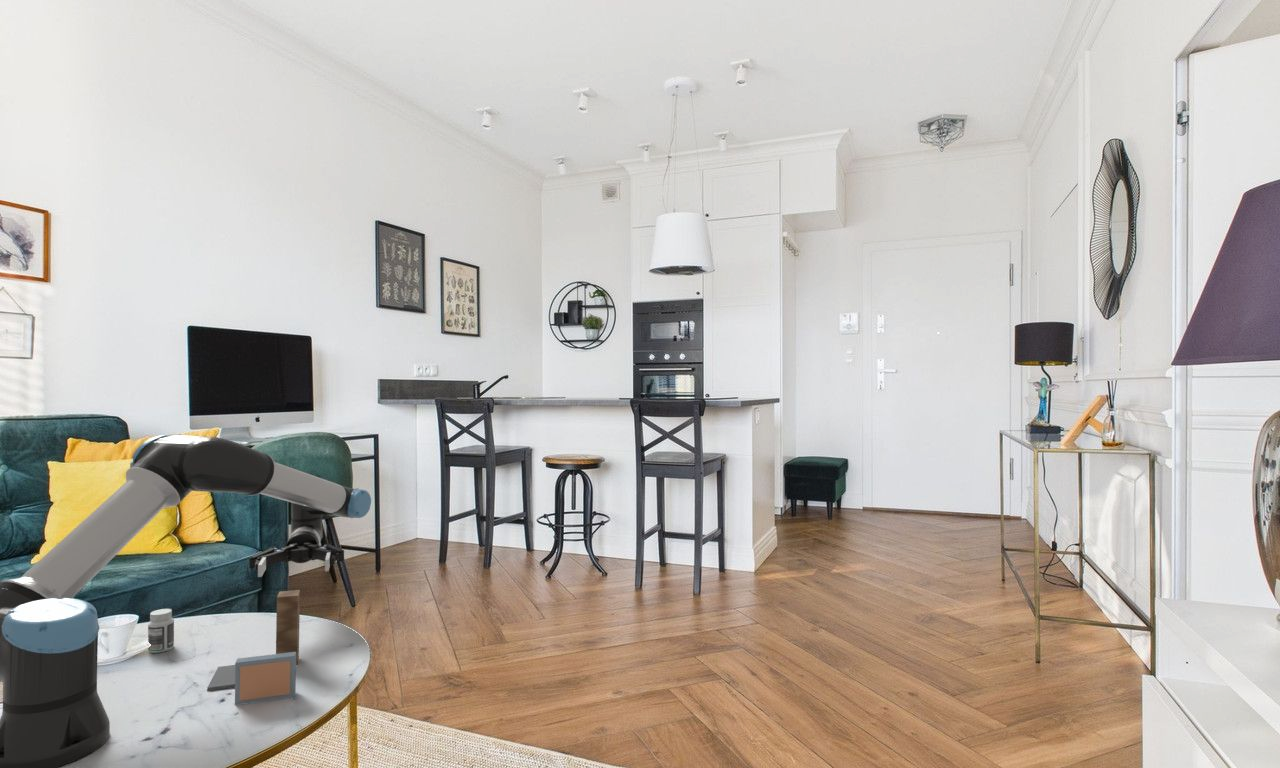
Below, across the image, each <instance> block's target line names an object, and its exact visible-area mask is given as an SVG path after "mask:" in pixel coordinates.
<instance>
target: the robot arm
mask: <svg viewBox="0 0 1280 768" xmlns="http://www.w3.org/2000/svg"><path fill="white" fill-rule="evenodd" d="M131 458H132V461H130V463H129V468H128V469H126V471H125V480H126V481H125V483H124V484H122V485H121V486H120V487H119V488H118V489H116V490H115V492H113V493H112V494H111V495H110V496H109V497H108V498H106V500H105V501H103V503H101V504H100V505H99V506H98V507H97V508H96V509H95V510H94V511H93V512H91V513H90V514H88V515H87V517H86V518H84V520H82V521H81V522H80V523H79V524H78V525H77V526H76V527H75V528H73V529H72V530H71V531H70V532H69V533H68V534H67V535H66V536H65V537H63V539H61V540H60V541H59V542H58V543H57V544H56V545H55V546H54V547H52V548H51V549H50V550H49V551H48V552H47V553H46V554H44V556H42V558H40V559H39V560H38V561H37V562H35V563H34V565H33V566H31V567H30V568H29V569H28V570H27V571H25V573H23V575H22V576H20V577H18V578H12V579H5V580H2V581H1V582H0V683H2V713H1V716H0V768H58V767H62V766H64V765H67V764H70V763H72V762H75V761H77V760H80V759H81V758H83V757H86V756H88V755H90V754H91V753H93V752H95V751H96V750H98V749H99V748H101V746H103V745H104V744H105V743H106V742H107V740H108V739H109V737H110V729H111V728H110V727H111V726H110V724H111V722H110V719H109V716H108V714H107V711H106V710H105V707H104V704H103V702H102V700H101V698H100V696H99V694H98V651H99V650H98V649H99V648H98V647H99V642H98V641H99V632H100V631H99V630H100V625H99V624H100V623H99V618H98V612H97V609H96V607H95V606H94V605H93V604H92V603H91V602H88V601H87V600H82V599H80V598H74V597H75V596H76V595H77V594H78V593H79V592H80V591H81V590H82V589H83V588H84V587H85V586H86V585H88V583H90V581H91V580H93V578H94V577H96V575H97V574H98V573H99V572H100V571H101V570H103V568H105V567H106V566H107V565H108V563H109V562H111V560H113V559H114V558H115V557H116V556H117V555H118V554H119V553H120V552H121V551H122V550H123V548H124V547H126V546H127V545H128V544H129V543H130V542H131V540H133V539H134V538H135V536H137V534H138V533H140V532H141V531H142V529H144V528H145V527H146V526H147V525H148V524H149V523H150V522H151V521H152V520H153V519H154V518H155V517H156V516H157V515H158V514H159V513H160V512H161V511H162V510H163V509H164V508H174V507H176V506H178V505H179V504H180V503H181V502H182V501H183V500H184V499H185V498H186V497H187V496H188V495H189V494H191V492H208V493H215V492H216V493H235V494H242V495H246V496H257V495H259V494H260V495H263V496H267V497H271V498H273V499H278V500H280V501H281V500H282V501H285V502H288V503H290V505H291V507H290V510H291V513H290V515H291V516H290V517H291V518H290V536H289V538H288V539H287V542H286V544H285V546H284V547H281V548H280V549H278V548H277V547H276V546H271V547H269V548H268V549H265V550H263V551H261V552H259V553H256V554H253V555H252V556H250V557H248V569H251V570H252V569H254V570H255V571H256V572H257V578H262V577H263V575H264V573H265V571H266V570H267V567H269V566H272V565H273V566H274V565H276V564H279V563H288V562H293V563H296V564H304V563H308V562H310V561H316V560H318V561H323V562H324V572H329V571H330V566H331V565H335V564H336V561H338V562H344V561H345V550H343V549H342V548H340V547H336V546H335V545H332V543H331V542H327V543H325V544H324V545H323V546H320V544H321V541H322V539H323V537H324V528H323V516H328V517H329V516H332V517H341V518H350V519H362V518H364V517H366V515H368V513H369V511H370V510H371V505H372V497H371V494H370V493H369V492H368V490H365V489H360V488H357V487H355V488H352V487H351V488H350V487H347V486H346V485H345V486H344V485H341V484H338V483H336V482H333V481H330V480H327V479H324V478H322V477H318V476H315V475H313V474H310V473H307V472H304V471H301V470H298V469H296V468H293V467H290V466H287V465H285V464H282V463H280V462H279V463H278V462H276V461H274V458H272V456H271V455H269V454H267V453H264V452H261V451H259V450H257V449H254V448H251V447H249V446H246V445H243V444H241V443H238V442H235V441H233V440H231V439H230V440H229V439H226V438H223V437H217V436H199V435H196V436H195V435H183V434H178V433H171V434H169V433H168V434H164V435H162V434H161V435H155V436H152V437H151V438H148V439H146V440H145V441H144V442H142V443H141V444H139V446H137V448H136V449H135V450H134V452H133V454H132V457H131Z"/></svg>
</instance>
